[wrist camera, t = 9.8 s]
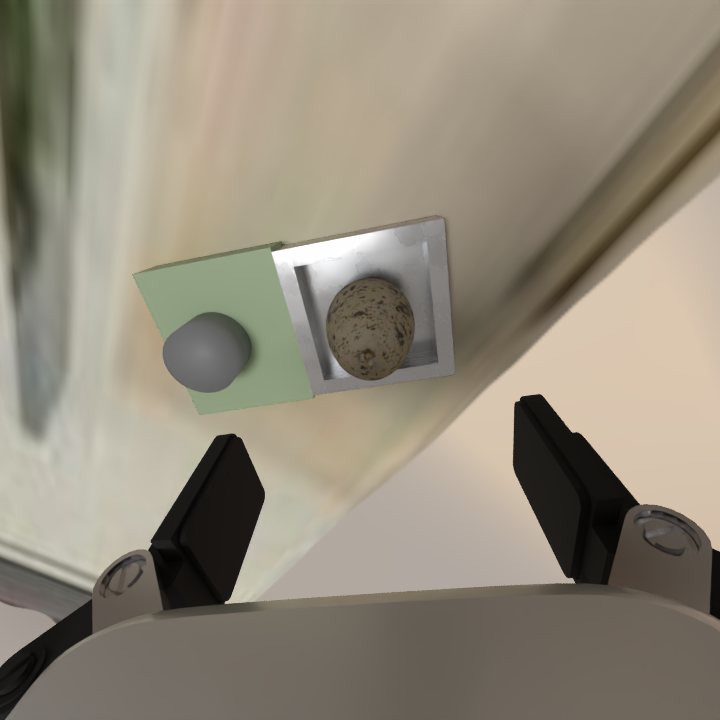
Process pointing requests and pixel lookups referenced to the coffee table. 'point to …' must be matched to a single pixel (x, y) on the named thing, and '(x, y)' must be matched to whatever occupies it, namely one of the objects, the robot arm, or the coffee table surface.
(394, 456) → the coffee table surface
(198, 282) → the deck
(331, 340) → the decorative egg
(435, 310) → the tray
